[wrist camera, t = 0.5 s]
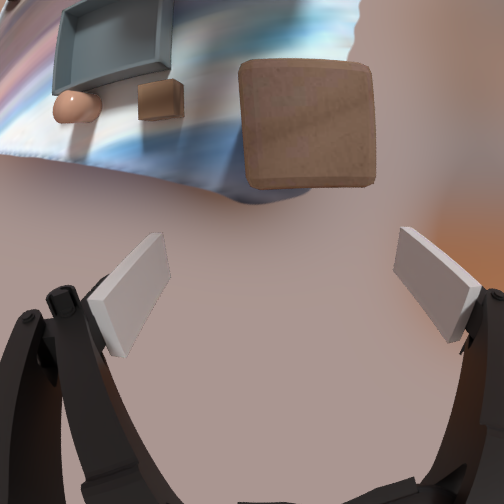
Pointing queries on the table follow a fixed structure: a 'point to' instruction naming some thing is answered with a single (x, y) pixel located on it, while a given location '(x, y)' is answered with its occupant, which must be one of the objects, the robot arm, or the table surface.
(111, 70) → the tote
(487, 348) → the robot arm
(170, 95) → the walnut cube
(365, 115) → the wooden block
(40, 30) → the table surface
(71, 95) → the peach colored egg
